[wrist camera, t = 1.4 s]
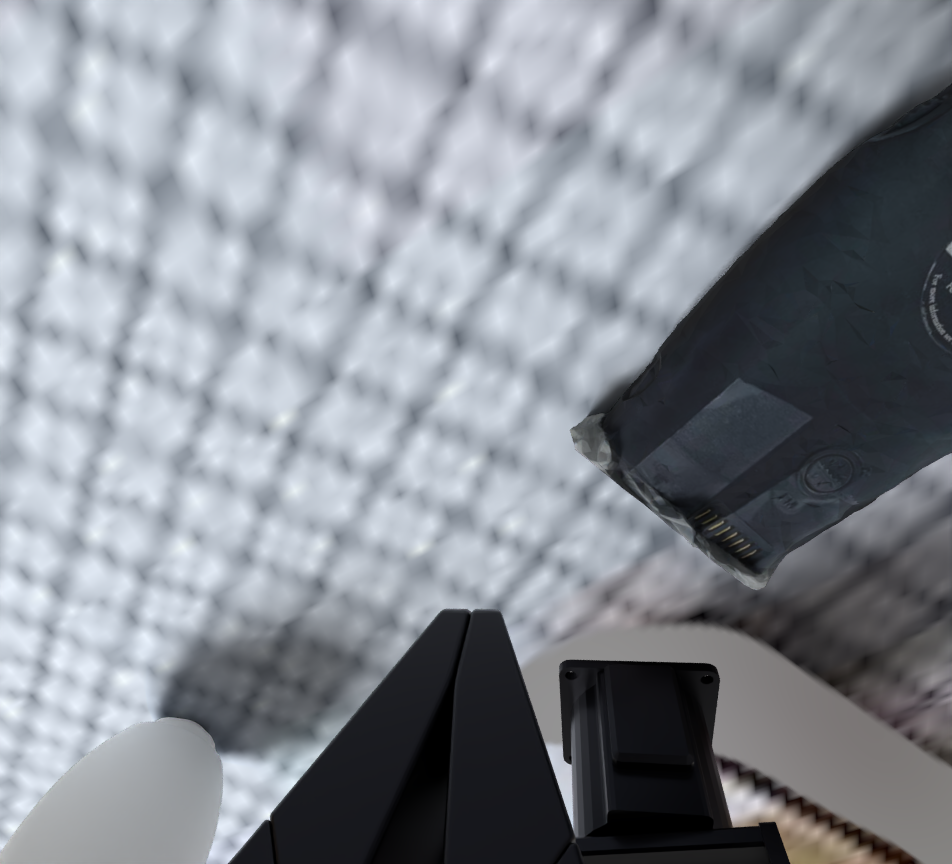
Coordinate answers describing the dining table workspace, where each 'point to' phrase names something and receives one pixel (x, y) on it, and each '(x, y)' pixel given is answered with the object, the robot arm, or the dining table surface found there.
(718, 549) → the electronic device
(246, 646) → the dining table surface
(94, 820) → the sauce bottle
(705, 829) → the robot arm
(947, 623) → the dining table surface
